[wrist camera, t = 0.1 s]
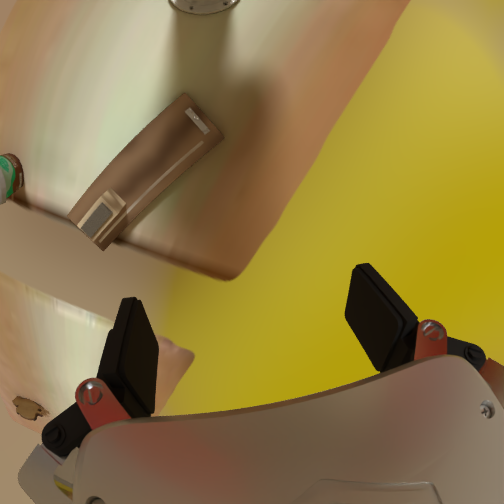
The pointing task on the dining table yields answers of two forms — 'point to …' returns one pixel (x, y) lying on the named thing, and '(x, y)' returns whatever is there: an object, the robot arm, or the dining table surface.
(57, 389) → the dining table surface
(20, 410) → the wooden carving
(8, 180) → the food container
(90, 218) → the beige rectangular block
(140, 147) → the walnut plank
